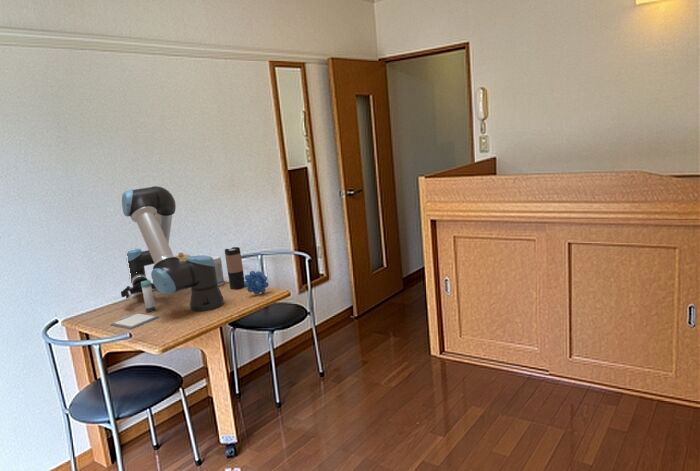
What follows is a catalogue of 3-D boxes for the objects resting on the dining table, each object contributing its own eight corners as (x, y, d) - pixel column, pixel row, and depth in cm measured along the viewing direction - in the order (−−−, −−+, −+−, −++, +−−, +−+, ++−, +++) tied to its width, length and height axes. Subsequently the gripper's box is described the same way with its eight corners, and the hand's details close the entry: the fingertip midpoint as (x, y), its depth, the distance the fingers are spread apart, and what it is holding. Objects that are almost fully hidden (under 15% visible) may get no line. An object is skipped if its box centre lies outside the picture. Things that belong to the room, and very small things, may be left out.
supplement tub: (203, 288, 269) (199, 260, 266) (208, 283, 278) (204, 256, 275) (222, 286, 268) (218, 259, 265) (226, 281, 278) (222, 254, 275)
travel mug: (241, 289, 260) (236, 250, 256) (227, 289, 262) (221, 251, 258) (247, 284, 267) (242, 246, 264) (233, 285, 269) (228, 247, 265)
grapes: (248, 299, 243) (244, 274, 240) (244, 296, 249) (240, 271, 246) (272, 294, 248) (269, 269, 245) (267, 290, 254) (264, 266, 251)
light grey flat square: (158, 317, 230) (158, 314, 230) (131, 329, 218) (130, 326, 218) (138, 314, 237) (138, 311, 237) (110, 325, 226) (110, 322, 225)
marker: (157, 309, 241) (152, 280, 238) (150, 312, 237) (144, 283, 235) (151, 308, 243) (146, 279, 240) (144, 311, 240) (138, 282, 237)
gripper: (167, 285, 267) (175, 295, 248) (115, 296, 256) (118, 307, 237) (165, 271, 265) (172, 280, 247) (112, 281, 254) (115, 292, 236)
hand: (146, 293), depth 242 cm, fingers open, 13 cm apart
